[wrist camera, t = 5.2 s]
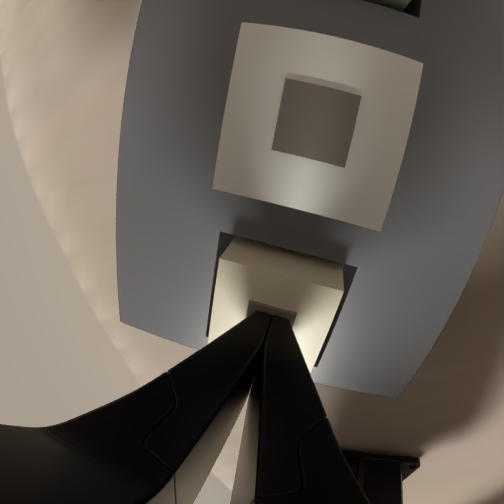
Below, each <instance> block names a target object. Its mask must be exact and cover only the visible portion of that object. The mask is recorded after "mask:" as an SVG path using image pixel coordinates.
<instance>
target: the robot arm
mask: <svg viewBox="0 0 504 504" xmlns="http://www.w3.org/2000/svg"><path fill="white" fill-rule="evenodd" d="M271 318H272V319H271ZM252 383H253V384H252ZM251 386H252V387H251ZM250 389H251V391H250ZM249 392H250V394H249ZM248 395H249V399H248V404H247V410H246V416H245V422H244V428H243V434H242V440H241V446H240V451H239V457H238V463H237V469H236V474H235V480H234V485H233V491H232V496H231V502H230V504H403V489H402V481H403V480H404V479H406V478H407V477H408V476H409V475H410V474H412V473H413V472H414V471H415V470H416V469H418V468H419V467H420V459H418V458H405V457H392V456H381V455H371V454H363V453H355V452H348V451H341V449H340V447H339V445H338V442H337V440H336V438H335V435H334V433H333V430H332V428H331V425H330V423H329V420H328V418H326V417H327V415H326V413H325V410H324V407H323V405H322V402H321V400H320V397H319V395H318V392H317V390H316V387H315V384H314V382H313V379H312V377H311V374H310V372H309V369H308V367H307V364H306V362H305V359H304V357H303V354H302V351H301V349H300V346H299V344H298V341H297V339H296V336H295V334H294V331H293V329H292V326H291V324H290V321H289V320H288V319H287V318H283V317H280V316H276V315H274V316H273V317H272V316H271V314H268V313H265V312H261V311H255V312H253V313H252V314H251V315H249V316H248V317H246V318H245V319H243V320H242V321H241V322H239V323H238V324H236V325H235V326H233V327H232V328H231V329H229V330H228V331H226V332H225V333H223V334H222V335H220V336H219V337H217V338H216V339H215V340H213V341H212V342H210V343H209V344H207V345H206V346H204V347H203V348H201V349H200V350H198V351H197V352H195V353H194V354H192V355H191V356H189V357H188V358H186V359H185V360H183V361H182V362H180V363H179V364H177V365H176V366H174V367H173V368H171V369H170V370H168V371H167V372H165V373H163V374H162V375H160V376H159V377H157V378H155V379H154V380H152V381H151V382H149V383H147V384H145V385H144V386H142V387H140V388H139V389H137V390H135V391H133V392H131V393H129V394H127V395H125V396H123V397H121V398H119V399H117V400H115V401H113V402H110V403H108V404H106V405H104V406H101V407H99V408H97V409H94V410H92V411H90V412H88V413H85V414H83V415H80V416H78V417H76V418H74V419H71V420H68V421H66V422H63V423H60V424H56V425H53V426H47V427H38V428H37V427H36V428H34V427H21V426H11V425H2V424H0V504H193V503H194V501H195V499H196V497H197V495H198V493H199V492H200V490H201V488H202V486H203V484H204V482H205V481H206V479H207V477H208V475H209V473H210V471H211V469H212V467H213V465H214V464H215V462H216V460H217V458H218V456H219V454H220V452H221V450H222V448H223V446H224V444H225V442H226V440H227V438H228V436H229V434H230V432H231V430H232V428H233V426H234V424H235V422H236V420H237V418H238V416H239V414H240V412H241V410H242V408H243V406H244V404H245V402H246V399H247V397H248Z"/></svg>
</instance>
